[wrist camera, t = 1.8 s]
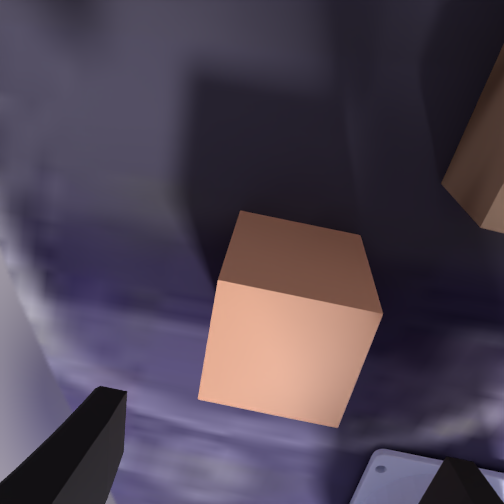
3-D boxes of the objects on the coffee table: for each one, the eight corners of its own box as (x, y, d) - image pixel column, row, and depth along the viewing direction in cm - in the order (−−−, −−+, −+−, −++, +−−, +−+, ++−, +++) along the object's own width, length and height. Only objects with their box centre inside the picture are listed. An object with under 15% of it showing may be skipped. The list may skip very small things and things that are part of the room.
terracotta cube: (328, 330, 18) (337, 428, 14) (222, 308, 18) (198, 399, 14) (360, 234, 16) (382, 313, 12) (240, 209, 16) (217, 279, 12)
